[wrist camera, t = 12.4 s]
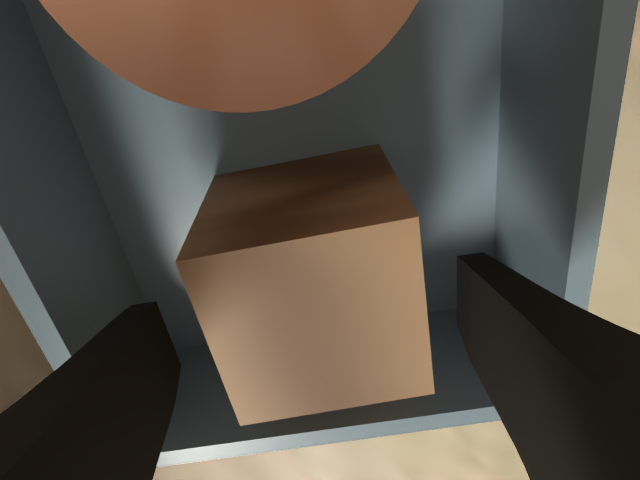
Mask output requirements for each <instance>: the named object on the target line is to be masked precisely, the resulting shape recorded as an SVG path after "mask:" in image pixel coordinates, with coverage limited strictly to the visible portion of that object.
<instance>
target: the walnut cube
mask: <svg viewBox="0 0 640 480" xmlns="http://www.w3.org/2000/svg"><path fill="white" fill-rule="evenodd" d="M175 263H176V265H177V268H178V270H179V273H180V275H181V278H182V280H183V283H184V285H185V288H186V290H187V293H188V296H189V298H190V301H191V303H192V306H193V308H194V311H195V313H196V316H197V318H198V321H199V323H200V326H201V328H202V331H203V333H204V336H205V338H206V341H207V344H208V346H209V349H210V351H211V354H212V356H213V359H214V361H215V364H216V366H217V369H218V371H219V374H220V376H221V379H222V381H223V384H224V387H225V389H226V392H227V394H228V397H229V399H230V402H231V404H232V407H233V409H234V412H235V414H236V417H237V419H238V422H239V424H240V426H243V425H249V424H255V423H261V422H267V421H273V420H280V419H286V418H292V417H298V416H304V415H310V414H316V413H322V412H328V411H334V410H340V409H346V408H352V407H358V406H364V405H370V404H376V403H382V402H388V401H394V400H400V399H406V398H412V397H418V396H424V395H430V394H435V391H434V380H433V369H432V358H431V347H430V337H429V326H428V315H427V304H426V293H425V282H424V271H423V260H422V249H421V238H420V227H419V217H418V215H417V213H416V211H415V209H414V207H413V206H412V204H411V202H410V200H409V198H408V196H407V194H406V193H405V191H404V189H403V187H402V185H401V183H400V182H399V180H398V178H397V176H396V174H395V172H394V170H393V169H392V167H391V165H390V163H389V161H388V159H387V158H386V156H385V154H384V152H383V150H382V148H381V146H380V145H379V144H376V145H370V146H365V147H360V148H355V149H350V150H345V151H339V152H334V153H329V154H324V155H319V156H314V157H309V158H303V159H298V160H293V161H288V162H283V163H278V164H272V165H267V166H262V167H257V168H252V169H247V170H241V171H236V172H231V173H226V174H221V175H216V176H214V177H213V179H212V182H211V184H210V186H209V188H208V190H207V193H206V195H205V197H204V199H203V202H202V204H201V206H200V208H199V210H198V213H197V215H196V217H195V219H194V221H193V224H192V226H191V228H190V230H189V232H188V235H187V237H186V239H185V241H184V243H183V246H182V248H181V250H180V252H179V255H178V257H177V259H176V261H175Z"/></svg>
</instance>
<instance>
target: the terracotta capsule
mask: <svg viewBox="0 0 640 480" xmlns="http://www.w3.org/2000/svg"><path fill="white" fill-rule="evenodd" d="M39 1H40V3H41V4H42V5H43V7H44V8H45V9H46V10H47V12H48V13H49V14H50V15H51V16H52V17H53V18H54V19H55V21H56V22H57V23H58V24H59V25H60V26H61V27H62V29H63V30H64V31H65V32H66V33H67V34H68V35H69V36H70V37H71V38H72V39H73V40H74V41H76V42H77V43H78V44H79V45H80V46H81V47H82V48H83V49H84V50H85V51H86V52H88V53H89V54H90V55H91V56H92V57H93V58H95V59H96V60H98V61H99V62H100V63H102V64H103V65H104V66H106V67H107V68H108V69H110V70H111V71H112V72H114V73H115V74H117V75H118V76H120V77H122V78H124V79H125V80H127V81H129V82H131V83H132V84H134V85H136V86H137V87H139V88H141V89H143V90H145V91H148V92H150V93H152V94H155V95H157V96H159V97H162V98H164V99H166V100H169V101H172V102H176V103H179V104H183V105H186V106H190V107H193V108H198V109H205V110H211V111H217V112H240V113H248V112H257V111H267V110H274V109H278V108H282V107H286V106H290V105H294V104H298V103H300V102H303V101H305V100H308V99H310V98H313V97H315V96H318V95H320V94H322V93H324V92H326V91H328V90H329V89H331V88H333V87H335V86H337V85H338V84H340V83H342V82H344V81H345V80H347V79H348V78H349V77H351V76H352V75H353V74H355V73H356V72H357V71H359V70H360V69H361V68H363V67H364V66H365V65H367V64H368V63H369V62H370V61H371V60H372V59H373V58H374V57H375V56H376V55H377V54H378V53H379V52H380V51H381V50H382V49H383V48H384V47H385V46H386V45H387V44H388V43H389V42H390V40H391V39H392V38H393V37H394V35H395V34H396V33H397V32H398V31H399V29H400V28H401V27H402V26H403V24H404V23H405V22H406V20H407V19H408V17H409V15H410V14H411V12H412V11H413V9H414V8H415V6H416V4H417V3H418V1H419V0H39Z"/></svg>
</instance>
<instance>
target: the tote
mask: <svg viewBox="0 0 640 480" xmlns="http://www.w3.org/2000/svg"><path fill="white" fill-rule="evenodd" d="M637 4H638V0H419V1H418V3H417V4H416V6H415V8H414V9H413V11H412V12H411V14H410V15H409V17H408V19H407V20H406V22H405V23H404V24H403V26H402V27H401V28H400V29H399V31H398V32H397V33H396V34H395V35H394V37H393V38H392V39H391V40H390V42H389V43H388V44H387V45H386V46H385V47H384V48H383V49H382V50H381V51H380V52H379V53H378V54H377V55H376V56H375V57H374V58H373V59H372V60H371V61H370V62H369V63H368V64H367V65H365V66H364V67H363V68H361V69H360V70H359V71H357V72H356V73H355V74H353V75H352V76H351V77H349V78H348V79H347V80H345V81H344V82H342V83H340V84H338V85H337V86H335V87H333V88H331V89H329V90H328V91H326V92H324V93H322V94H320V95H318V96H315V97H313V98H310V99H308V100H305V101H303V102H300V103H298V104H294V105H290V106H286V107H282V108H278V109H274V110H267V111H257V112H248V113H240V112H217V111H211V110H205V109H198V108H193V107H190V106H186V105H183V104H179V103H176V102H172V101H169V100H166V99H164V98H162V97H159V96H157V95H155V94H152V93H150V92H148V91H145V90H143V89H141V88H139V87H137V86H136V85H134V84H132V83H131V82H129V81H127V80H125V79H124V78H122V77H120V76H118V75H117V74H115V73H114V72H112V71H111V70H110V69H108V68H107V67H106V66H104V65H103V64H102V63H100V62H99V61H98V60H96V59H95V58H93V57H92V56H91V55H90V54H89V53H88V52H86V51H85V50H84V49H83V48H82V47H81V46H80V45H79V44H78V43H77V42H76V41H74V40H73V39H72V38H71V37H70V36H69V35H68V34H67V33H66V32H65V31H64V30H63V29H62V27H61V26H60V25H59V24H58V23H57V22H56V21H55V19H54V18H53V17H52V16H51V15H50V14H49V13H48V12H47V10H46V9H45V8H44V7H43V5H42V4H41V3H40V1H39V0H0V279H1V280H2V282H3V284H4V286H5V287H6V289H7V291H8V293H9V294H10V296H11V298H12V299H13V301H14V303H15V305H16V306H17V308H18V310H19V312H20V313H21V315H22V317H23V319H24V320H25V322H26V324H27V326H28V327H29V329H30V331H31V332H32V334H33V336H34V338H35V339H36V341H37V343H38V345H39V346H40V348H41V350H42V352H43V353H44V355H45V357H46V358H47V360H48V362H49V364H50V365H51V367H52V369H53V371H55V370H56V369H57V368H59V367H60V366H61V365H62V364H63V363H65V362H66V361H67V360H68V359H69V358H70V357H71V356H73V355H74V354H75V353H76V352H77V351H78V350H79V349H80V348H82V347H83V346H84V345H85V344H86V343H87V342H88V341H90V340H91V339H92V338H93V337H94V336H95V335H96V334H97V333H99V332H100V331H101V330H102V329H103V328H104V327H105V326H106V325H108V324H109V323H110V322H111V321H112V320H113V319H114V318H116V317H117V316H118V315H119V314H120V313H122V312H123V311H124V310H125V309H127V308H128V307H129V306H131V305H135V304H142V303H148V302H155V301H156V302H157V305H158V307H159V310H160V312H161V315H162V317H163V320H164V322H165V325H166V328H167V330H168V333H169V335H170V338H171V340H172V343H173V345H174V348H175V351H176V353H177V356H178V358H179V361H180V363H181V370H180V377H179V384H178V390H177V396H176V402H175V406H174V410H173V413H172V417H171V420H170V423H169V427H168V430H167V433H166V437H165V440H164V443H163V447H162V450H161V453H160V456H159V460H158V463H157V466H156V467H164V466H171V465H178V464H185V463H193V462H200V461H207V460H215V459H222V458H229V457H236V456H244V455H251V454H258V453H266V452H273V451H280V450H287V449H295V448H302V447H309V446H317V445H324V444H331V443H338V442H346V441H353V440H360V439H368V438H375V437H382V436H389V435H397V434H404V433H411V432H419V431H426V430H433V429H441V428H448V427H455V426H462V425H470V424H477V423H484V422H492V421H499V420H501V418H500V417H499V415H498V413H497V411H496V409H495V407H494V405H493V403H492V401H491V400H490V398H489V396H488V394H487V392H486V390H485V388H484V386H483V384H482V382H481V380H480V379H479V377H478V375H477V373H476V371H475V369H474V367H473V365H472V363H471V361H470V358H469V356H468V353H467V350H466V348H465V345H464V342H463V340H462V337H461V334H460V331H459V328H458V326H457V256H460V255H467V254H474V253H480V252H483V253H485V254H487V255H489V256H491V257H493V258H494V259H496V260H498V261H499V262H501V263H503V264H504V265H506V266H508V267H509V268H511V269H513V270H514V271H516V272H518V273H519V274H521V275H523V276H524V277H526V278H528V279H529V280H531V281H533V282H534V283H536V284H538V285H540V286H541V287H543V288H545V289H547V290H548V291H550V292H552V293H554V294H555V295H557V296H559V297H561V298H563V299H565V300H567V301H568V302H570V303H572V304H574V305H576V306H578V307H580V308H582V309H584V310H586V311H587V310H588V303H589V297H590V291H591V285H592V279H593V273H594V267H595V261H596V255H597V249H598V242H599V236H600V230H601V224H602V218H603V212H604V206H605V200H606V194H607V188H608V181H609V175H610V169H611V163H612V157H613V151H614V145H615V139H616V133H617V127H618V120H619V114H620V108H621V102H622V96H623V90H624V84H625V78H626V72H627V65H628V59H629V53H630V47H631V41H632V35H633V29H634V23H635V17H636V11H637ZM376 144H379V145H380V146H381V148H382V150H383V152H384V154H385V156H386V158H387V159H388V161H389V163H390V165H391V167H392V169H393V170H394V172H395V174H396V176H397V178H398V180H399V182H400V183H401V185H402V187H403V189H404V191H405V193H406V194H407V196H408V198H409V200H410V202H411V204H412V206H413V207H414V209H415V211H416V213H417V215H418V217H419V227H420V238H421V249H422V260H423V271H424V282H425V293H426V304H427V315H428V326H429V337H430V347H431V358H432V369H433V380H434V391H435V394H430V395H424V396H418V397H412V398H406V399H400V400H394V401H388V402H382V403H376V404H370V405H364V406H358V407H352V408H346V409H340V410H334V411H328V412H322V413H316V414H310V415H304V416H298V417H292V418H286V419H280V420H273V421H267V422H261V423H255V424H249V425H243V426H240V424H239V422H238V419H237V417H236V414H235V412H234V409H233V407H232V404H231V402H230V399H229V397H228V394H227V392H226V389H225V387H224V384H223V381H222V379H221V376H220V374H219V371H218V369H217V366H216V364H215V361H214V359H213V356H212V354H211V351H210V349H209V346H208V344H207V341H206V338H205V336H204V333H203V331H202V328H201V326H200V323H199V321H198V318H197V316H196V313H195V311H194V308H193V306H192V303H191V301H190V298H189V296H188V293H187V290H186V288H185V285H184V283H183V280H182V278H181V275H180V273H179V270H178V268H177V265H176V263H175V261H176V259H177V257H178V255H179V252H180V250H181V248H182V246H183V243H184V241H185V239H186V237H187V235H188V232H189V230H190V228H191V226H192V224H193V221H194V219H195V217H196V215H197V213H198V210H199V208H200V206H201V204H202V202H203V199H204V197H205V195H206V193H207V190H208V188H209V186H210V184H211V182H212V179H213V177H214V176H216V175H221V174H226V173H231V172H236V171H241V170H247V169H252V168H257V167H262V166H267V165H272V164H278V163H283V162H288V161H293V160H298V159H303V158H309V157H314V156H319V155H324V154H329V153H334V152H339V151H345V150H350V149H355V148H360V147H365V146H370V145H376Z"/></svg>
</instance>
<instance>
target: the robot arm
mask: <svg viewBox="0 0 640 480" xmlns="http://www.w3.org/2000/svg"><path fill="white" fill-rule="evenodd" d="M457 326H458V328H459V331H460V334H461V337H462V340H463V342H464V345H465V348H466V350H467V353H468V356H469V358H470V361H471V363H472V365H473V367H474V369H475V371H476V373H477V375H478V377H479V379H480V380H481V382H482V384H483V386H484V388H485V390H486V392H487V394H488V396H489V398H490V400H491V401H492V403H493V405H494V407H495V409H496V411H497V413H498V415H499V417H500V418H501V420H502V422H503V424H504V426H505V428H506V430H507V432H508V434H509V435H510V437H511V439H512V441H513V443H514V445H515V447H516V449H517V451H518V453H519V455H520V457H521V460H522V462H523V464H524V466H525V468H526V471H527V473H528V476H529V478H530V480H640V335H639V334H637V333H634V332H632V331H629V330H627V329H625V328H622V327H620V326H618V325H615V324H613V323H611V322H609V321H607V320H604V319H602V318H600V317H598V316H596V315H594V314H592V313H590V312H588V311H586V310H584V309H582V308H580V307H578V306H576V305H574V304H572V303H570V302H568V301H567V300H565V299H563V298H561V297H559V296H557V295H555V294H554V293H552V292H550V291H548V290H547V289H545V288H543V287H541V286H540V285H538V284H536V283H534V282H533V281H531V280H529V279H528V278H526V277H524V276H523V275H521V274H519V273H518V272H516V271H514V270H513V269H511V268H509V267H508V266H506V265H504V264H503V263H501V262H499V261H498V260H496V259H494V258H493V257H491V256H489V255H487V254H485V253H483V252H480V253H474V254H467V255H460V256H457ZM180 370H181V363H180V361H179V358H178V356H177V353H176V351H175V348H174V345H173V343H172V340H171V338H170V335H169V333H168V330H167V328H166V325H165V322H164V320H163V317H162V315H161V312H160V310H159V307H158V305H157V302H156V301H155V302H148V303H142V304H135V305H131V306H129V307H128V308H127V309H125V310H124V311H123V312H122V313H120V314H119V315H118V316H117V317H116V318H114V319H113V320H112V321H111V322H110V323H109V324H108V325H106V326H105V327H104V328H103V329H102V330H101V331H100V332H99V333H97V334H96V335H95V336H94V337H93V338H92V339H91V340H90V341H88V342H87V343H86V344H85V345H84V346H83V347H82V348H80V349H79V350H78V351H77V352H76V353H75V354H74V355H73V356H71V357H70V358H69V359H68V360H67V361H66V362H65V363H63V364H62V365H61V366H60V367H59V368H57V369H56V370H55V371H54V372H52V373H51V374H50V375H49V376H48V377H46V378H45V379H44V380H43V381H42V382H40V383H39V384H38V385H37V386H35V387H34V388H33V389H32V390H31V391H29V392H28V393H27V394H26V395H25V396H23V397H22V398H21V399H19V400H18V401H17V402H16V403H14V404H13V405H12V406H10V407H9V408H8V409H6V410H5V411H4V412H2V413H1V414H0V480H152V479H153V476H154V473H155V469H156V466H157V463H158V460H159V456H160V453H161V450H162V447H163V443H164V440H165V437H166V433H167V430H168V427H169V423H170V420H171V417H172V413H173V410H174V406H175V402H176V396H177V390H178V384H179V377H180Z"/></svg>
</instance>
